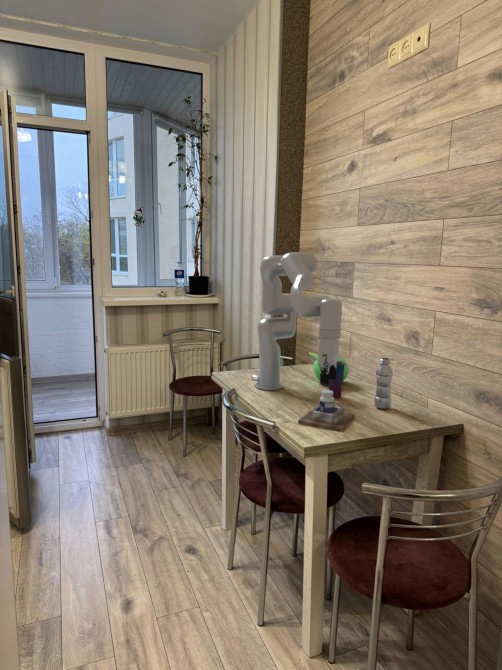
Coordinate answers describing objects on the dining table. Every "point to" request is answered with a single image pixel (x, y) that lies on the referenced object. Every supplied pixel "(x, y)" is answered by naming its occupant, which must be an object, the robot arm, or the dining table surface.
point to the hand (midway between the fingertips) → (328, 381)
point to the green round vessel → (317, 368)
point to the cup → (337, 380)
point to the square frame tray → (327, 418)
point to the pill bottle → (327, 402)
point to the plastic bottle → (383, 384)
